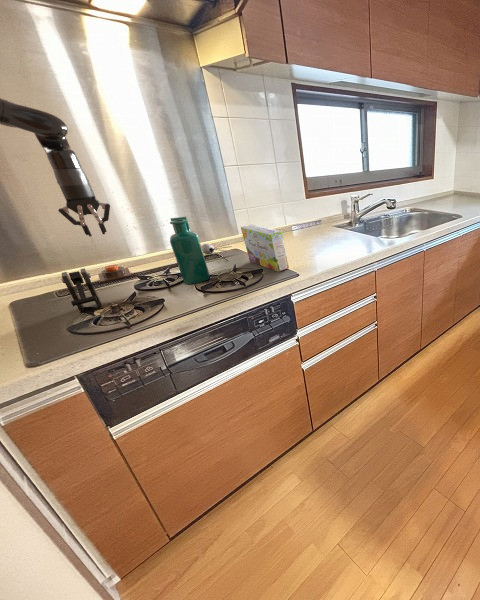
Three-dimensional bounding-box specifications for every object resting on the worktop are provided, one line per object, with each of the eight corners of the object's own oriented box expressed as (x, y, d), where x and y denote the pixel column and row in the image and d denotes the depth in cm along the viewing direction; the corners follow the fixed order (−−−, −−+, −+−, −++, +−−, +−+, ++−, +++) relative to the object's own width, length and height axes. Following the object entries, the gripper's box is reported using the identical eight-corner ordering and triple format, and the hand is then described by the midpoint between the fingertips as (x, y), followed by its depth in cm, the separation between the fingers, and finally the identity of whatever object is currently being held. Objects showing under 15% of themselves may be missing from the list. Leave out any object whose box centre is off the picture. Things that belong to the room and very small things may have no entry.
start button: (119, 270, 120) (117, 266, 119) (107, 273, 117) (105, 268, 117) (118, 268, 122) (116, 263, 121) (106, 270, 120) (104, 266, 119)
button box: (133, 280, 120) (129, 270, 119) (102, 287, 115) (97, 276, 113) (129, 272, 128) (125, 263, 126) (100, 279, 122) (95, 269, 120)
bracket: (113, 312, 97) (95, 272, 92) (73, 322, 92) (51, 281, 86) (110, 301, 104) (93, 264, 98) (73, 311, 99) (52, 272, 93)
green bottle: (211, 280, 118) (193, 220, 109) (184, 285, 114) (163, 223, 105) (209, 272, 126) (191, 215, 116) (184, 277, 122) (163, 218, 112)
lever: (98, 302, 91) (94, 296, 89) (74, 308, 88) (70, 302, 86) (88, 275, 96) (85, 269, 94) (65, 280, 93) (61, 274, 91)
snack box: (248, 262, 136) (239, 226, 129) (260, 258, 140) (252, 223, 133) (277, 272, 124) (269, 233, 117) (290, 268, 128) (283, 230, 121)
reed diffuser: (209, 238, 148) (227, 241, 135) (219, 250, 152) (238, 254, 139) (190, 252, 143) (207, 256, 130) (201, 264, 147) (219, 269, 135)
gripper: (101, 180, 113) (121, 229, 121) (44, 184, 104) (70, 237, 112) (102, 182, 108) (123, 233, 116) (43, 186, 99) (70, 241, 107)
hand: (97, 234), depth 114 cm, fingers open, 3 cm apart
